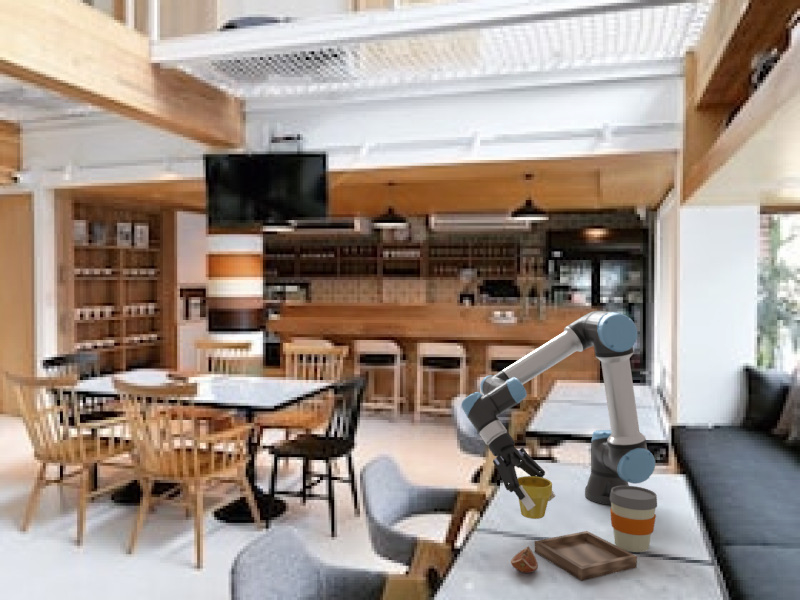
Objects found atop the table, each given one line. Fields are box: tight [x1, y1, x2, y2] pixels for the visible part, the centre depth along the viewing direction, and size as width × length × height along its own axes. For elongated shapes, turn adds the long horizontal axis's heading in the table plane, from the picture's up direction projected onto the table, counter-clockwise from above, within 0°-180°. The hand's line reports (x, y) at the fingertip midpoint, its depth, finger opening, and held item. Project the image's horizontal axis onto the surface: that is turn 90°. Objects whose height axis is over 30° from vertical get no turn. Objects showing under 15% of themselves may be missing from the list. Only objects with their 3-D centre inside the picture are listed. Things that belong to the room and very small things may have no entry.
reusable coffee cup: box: [609, 485, 658, 553], centre depth 184 cm, size 13×13×15 cm
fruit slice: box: [510, 546, 539, 574], centre depth 166 cm, size 8×7×5 cm
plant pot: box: [517, 475, 553, 520], centre depth 189 cm, size 10×10×10 cm
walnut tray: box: [534, 530, 638, 582], centre depth 173 cm, size 18×18×3 cm
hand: (542, 503), depth 187 cm, fingers closed on plant pot, 10 cm apart
